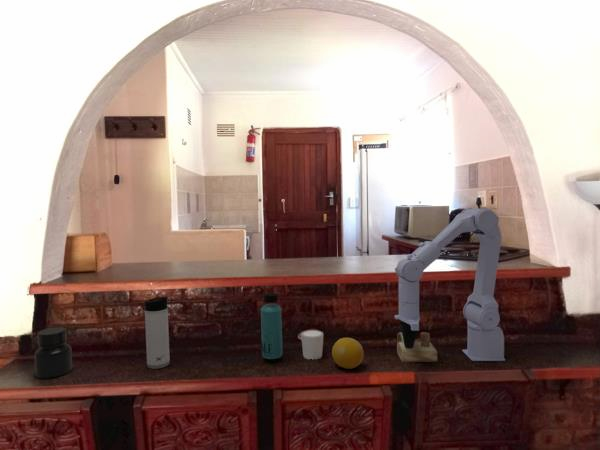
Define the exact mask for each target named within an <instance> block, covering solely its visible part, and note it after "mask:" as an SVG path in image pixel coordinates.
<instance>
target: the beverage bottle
mask: <svg viewBox="0 0 600 450" xmlns="http://www.w3.org/2000/svg"><path fill="white" fill-rule="evenodd" d="M278 301H279V300H278V294H277V293H274V292H268V293H265V294H264V295H263V302H264V303H266V304H263V306H262V307H261V308H260V331H261V333H260V334H261V341H260V345H261V347H260V349H261V352H260V354H261V355H262V357H263V358H264V359H267V360H275V359H280V358H281V357H282V356H283V353H284V347H283V346H284V344H283V331H282V329H283V327H282V326H283V325H282V323H283V322H282V321H283V320H282V307H281V306H280V305H279V304H277V302H278Z"/></svg>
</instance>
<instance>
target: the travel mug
mask: <svg viewBox="0 0 600 450" xmlns="http://www.w3.org/2000/svg"><path fill="white" fill-rule="evenodd" d="M168 300H169V298H168V296H159V297H154V298H153V297H152V298H149V299H148V300H145V301H144V323H145V326H144V328H145V346H146V349H145V350H146V366H147V368H148V369H152V370H157V369H162V368H165V367H167V366H168V365H170V362H171V360H170V359H171V358H170V357H171V356H170V334H169V310H168V308H169V307H168Z"/></svg>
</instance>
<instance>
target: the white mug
mask: <svg viewBox="0 0 600 450" xmlns="http://www.w3.org/2000/svg"><path fill="white" fill-rule="evenodd" d="M300 338H301V345H302V355H303V358H304V359H306V360H310V359H312V360H313V361H315V360H319V359H322V357H323V348H324V347H323V346H324V332H323V331H320V330H315V329H309V330H305V331H302V332H301V333H300ZM314 359H315V360H314Z"/></svg>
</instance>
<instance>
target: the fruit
mask: <svg viewBox="0 0 600 450" xmlns="http://www.w3.org/2000/svg"><path fill="white" fill-rule="evenodd" d="M364 355H365V354H364V349H363V346H362V344H361V343H360V342H359V341H358V340H356V339H354V338H351V337H342V338H339V339H338V340H337V341H335V343H334V345H333V346H332V349H331V356H332V358H333V359H332V360H333V361H334V362H335V364H336V365H338V366H339V367H340V368H343V369H348V370H351V369H355V368H357V367H358V366H360V364H361V363H362V362H363V360H364Z"/></svg>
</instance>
